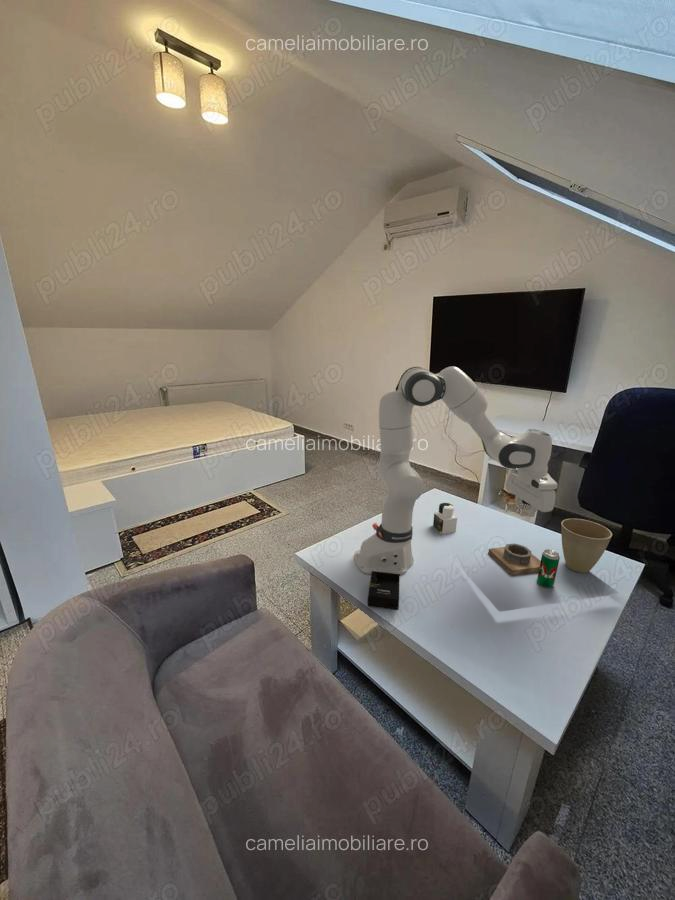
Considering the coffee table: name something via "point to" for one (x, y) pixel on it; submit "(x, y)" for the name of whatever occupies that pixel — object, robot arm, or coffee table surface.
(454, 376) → the robot arm
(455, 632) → the coffee table surface
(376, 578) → the battery charger
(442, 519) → the white boxy device
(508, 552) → the socket block
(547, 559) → the soda can
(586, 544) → the plant pot
